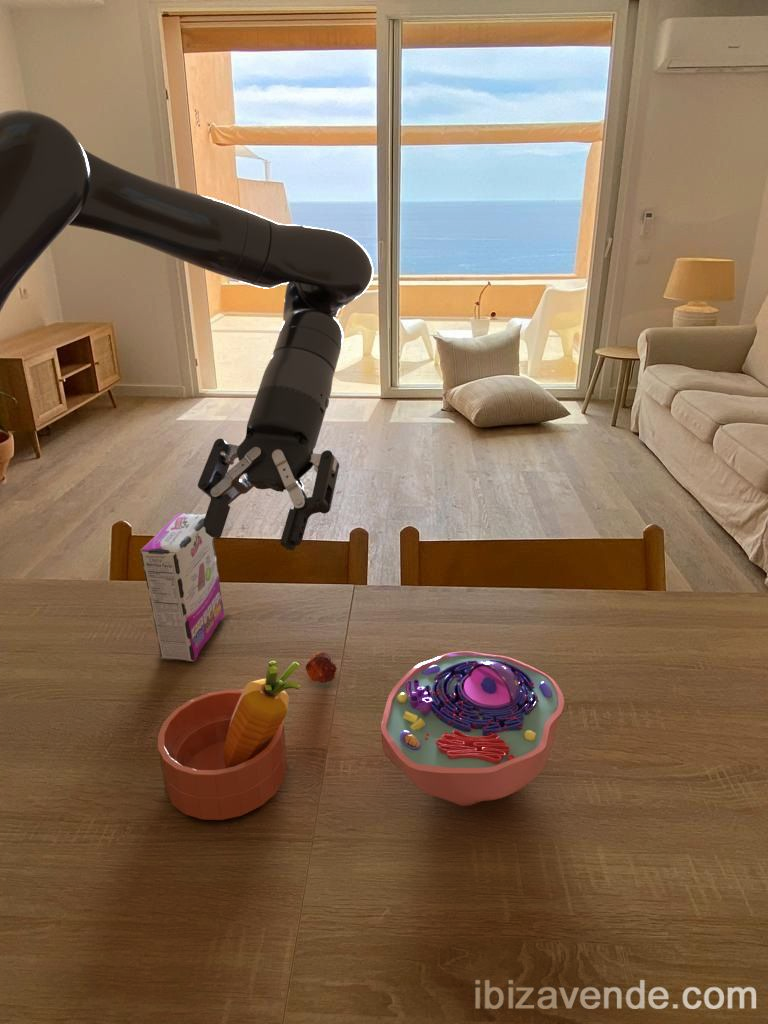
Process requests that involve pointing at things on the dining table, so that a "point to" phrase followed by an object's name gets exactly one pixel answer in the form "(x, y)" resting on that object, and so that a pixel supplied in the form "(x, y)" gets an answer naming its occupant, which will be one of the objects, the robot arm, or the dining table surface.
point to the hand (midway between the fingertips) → (249, 541)
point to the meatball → (321, 668)
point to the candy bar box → (183, 586)
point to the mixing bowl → (215, 761)
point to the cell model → (471, 725)
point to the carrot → (258, 715)
